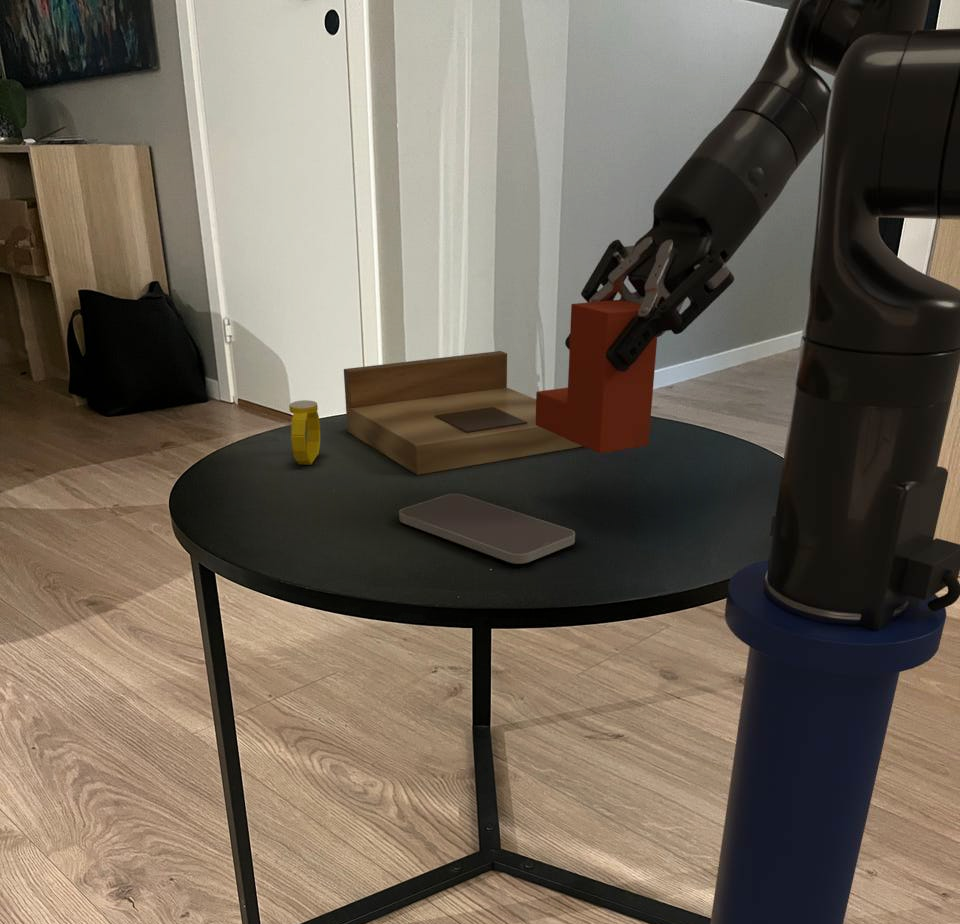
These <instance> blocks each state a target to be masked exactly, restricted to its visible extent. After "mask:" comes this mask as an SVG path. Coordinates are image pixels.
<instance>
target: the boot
mask: <svg viewBox="0 0 960 924" xmlns="http://www.w3.org/2000/svg"><path fill="white" fill-rule="evenodd" d="M570 306H571V308H570V327H569V328H570V329H569V334H570V350H569V349H568V350H569V351H568V353H569V354H568V374H567V387H562V388H553V389H547V390H546V389H545V390H538V391H536V392H535V393H536V395H535V396H536V397H535V399H536V425H537V426H539V427H541V428H544V429H546V430H548V431H550V432H553V433H555V434H557V435H560V436H562V437H564V438H566V439H567V440H570V441H572V442H574V443H577V444H579V445H581V446H583V447H584V448H586V449H588V450H591V451H592V452H595V453H597V454H605V453H611V452H617V451H624V450H629V449H634V448H641V447H647V446H649V442H650V431H651V420H652V418H651V417H652V405H653V396H654V395H653V394H654V383H655V371H656V370H655V369H656V357H657V347H658V337H654V338H653V339H652V341H651V342H650V343H649V345H648V346H647V347H646V348H645V350H644V351H643V352H642V353H641V355H639V357H638V359H637V360H636V361H635V362H634V363H633V364H632V365H631V366H630V367H629V368H628V369H627V370H626V371H625V372H622V371H619V370H616V369H615V368H614V366H613V365H612V364H611V363H610V362H609V360H608V359H607V358H606V352H607V350H608V349H609V347H610V346H611V345H612V343H613V342H614V341H615V340H616V338H617V337H618V336H619V335H620V333H621V332H622V331H623V329H624V328H625V327H626V326H627V324H628V323H629V322H630V321H631V319H632V318H633V317H636V318H640V317H639V316H638V314H637V313H638V310H639V308H640V306H641V304H639V303H635V302H630V301H626V300H620V299H614V300H611V301H600V302H577V303H571V304H570Z"/></svg>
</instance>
